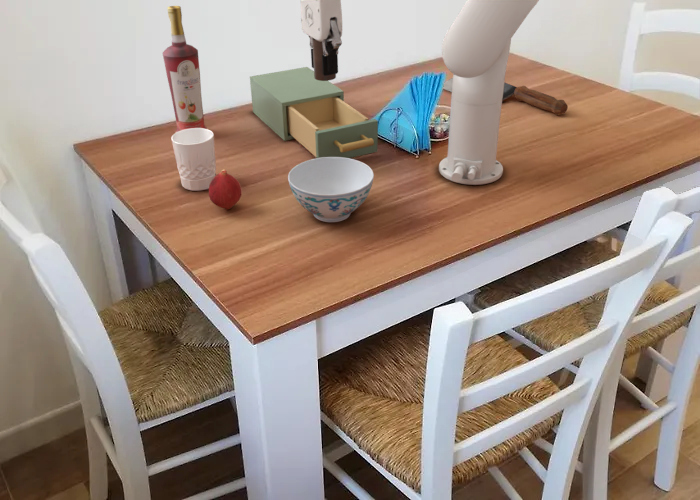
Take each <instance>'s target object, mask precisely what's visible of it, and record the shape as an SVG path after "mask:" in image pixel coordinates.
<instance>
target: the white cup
mask: <svg viewBox="0 0 700 500" xmlns="http://www.w3.org/2000/svg"><path fill="white" fill-rule="evenodd" d="M170 138H171V145H172V149H173V154H174V158H175V163H176V167H177V171H178V173H179V178H180V183H181V186H182V187H183V188H184V189H185V190H188V191H193V192H196V191H197V192H199V191H204V190H209V185H210V183H211V181H212V180H213V178H214V177H215V176H216V175H217V165H216V164H217V159H216V148H215V147H216V146H215V134H214V132H213V131H212V130H211V129H208V128H207V129H204V128H190V129H184V130H181V131H178V132H176V131H175V133H173V134H172V135H171V137H170Z"/></svg>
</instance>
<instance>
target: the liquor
mask: <svg viewBox="0 0 700 500" xmlns="http://www.w3.org/2000/svg"><path fill="white" fill-rule="evenodd" d="M166 9H167V15H168V19H169V23H170V32H171V34H170V35H171V45H169V46H168V47H167V48H165V49H164V51H162V56H163V62H164V68H165V72H166V78H167V82H168V87H169V91H170V96H171V101H172V106H173V112H174V117H175V123H176V129H175V133H176V132H178V131H181V130H184V129H190V128H204V129H208V128H207V126H206V124H205V119H204V109H203V98H202V85H201V84H202V83H201V70H200V60H199V50H198V49H197V48H196V47H194V46H193V45H191V44H188V43H187V39H186V36H185V35H186V34H185V31H184V26H183V20H182V18H183V17H182V16H183V14H182V7H181V6H180V5H169V6H167V8H166Z"/></svg>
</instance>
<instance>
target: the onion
mask: <svg viewBox="0 0 700 500" xmlns="http://www.w3.org/2000/svg"><path fill="white" fill-rule="evenodd" d="M208 197H209V200H210V201H211V203H212V204H214V205H215V206H217V207H218V208H221V209H224V210H226V211H228V210H231V209H232V208H233V207H234V206H235V205H236V204H237V203H239V201H240V200H241V197H242V187H241V184H240V181H238V179H237V178H235V177H234V176H233V175H232V174H229V173H228V171H227V170H226V169H221V170H220V171H219V173H218V174H216V176H215V177H214V178H213V180H212V181H211V183H210V185H209V188H208Z"/></svg>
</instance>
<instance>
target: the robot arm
mask: <svg viewBox="0 0 700 500" xmlns="http://www.w3.org/2000/svg"><path fill="white" fill-rule="evenodd" d="M539 1H540V0H466V1H465V3H464V4H463V6H462V8H461V9H460V11H459V13H458V14H457V16H456V17H455V18H454V20H453V22H452V24H451V25H450V27H449V28H448V29H447V31H446V33H445V35H444V38H443V40H442V43H441V57H442V61H443V63H444V65H445V67H446V68H447V69H448V71H449V72H451V73H452V74H453V76H452V78H453V83H452V92H451V97H450V109H449V110H450V112H449V125H448V127H449V128H448V142H447V143H448V144H447V156H446V157H444V158H443V159H441V161H439V164H438V172H439V173H440V175H441V176H442V177H444V178H445V179H447V180H448V181H451V182H453V183H457V184H462V185H469V186H472V185H473V186H478V185H486V184H491V183H493V182H497V181H498V180H499V179H500V178H501V177H502V176H503V174H504V166H503V164H502V163H501V162H500V161H498V160H497V152H498V144H499V134H500V124H501V115H502V105H503V100H502V98H503V90H504V82H505V81H506V74H507V67H508V61H509V55H510V51H511V44H512V38H513V36H514V35H515V33H517V31H518V29H519V28H520V27H521V25H522V24H523V23H524V21H525V20H526V18H527V17H528V15H529V14H530V12H532V10H533V9H534V8H535V7H536V5H537V4H538V2H539ZM342 11H343V10H342V1H341V0H300V25H301V26H300V27H301V31H302V32H303V33H304V34H305V35H307V36H308V37H309V47H310V59H311V60H310V61H311V68H312V69H314V62H313V43H312V38H314V39H316V40H317V41H320V42H321V41H322V47H323V54H324V55H322V73H323V75H324V76H327V75H332V74H336V75H337V74H338V73H339V57H338V55H339V50H340V47H341V46H342V44H343V42H342V41H343V40H342V36H343V12H342ZM328 35H331V36H332V38H328V39H327V37H328ZM327 42H332V43H331V44H329V46H328V48H327Z"/></svg>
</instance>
